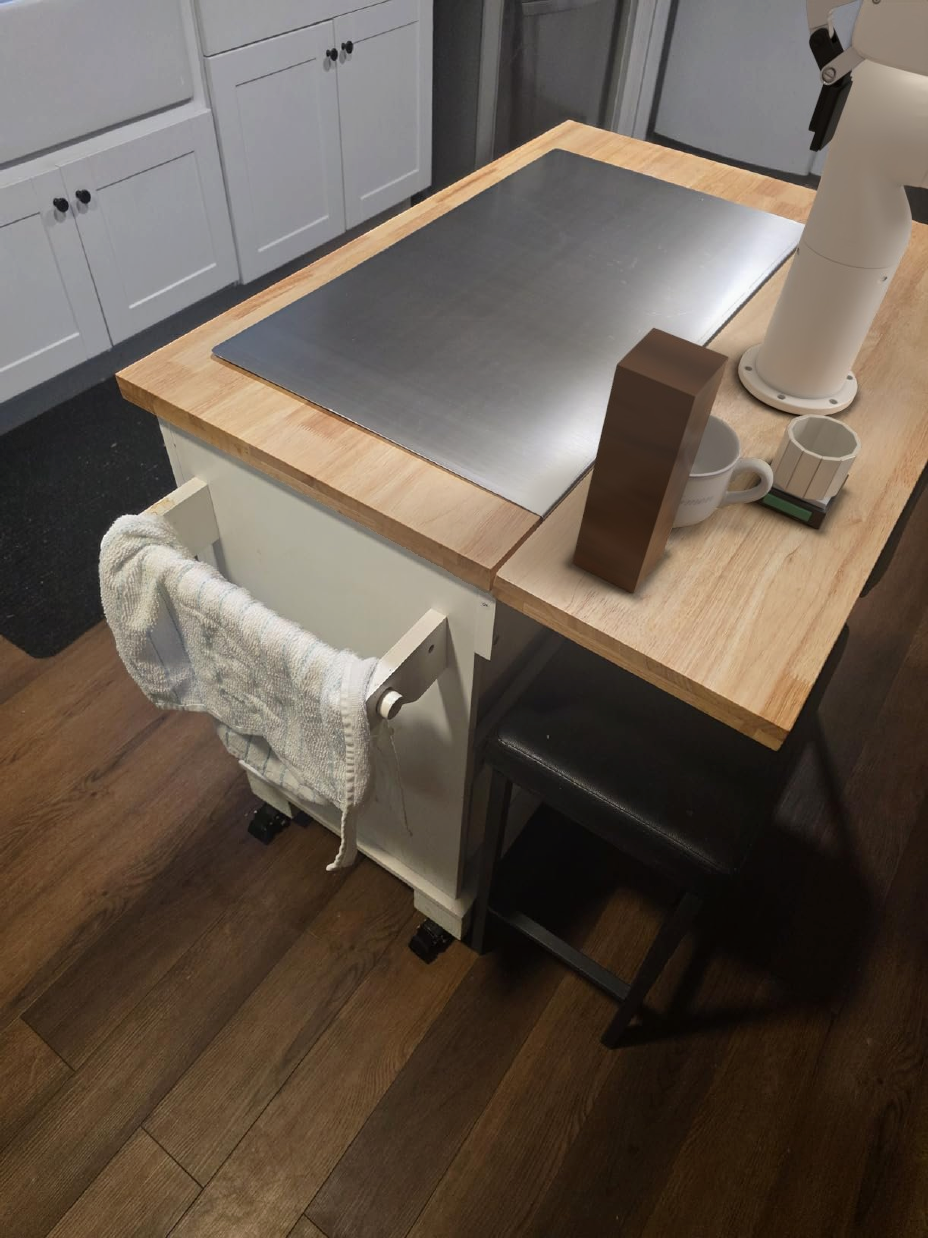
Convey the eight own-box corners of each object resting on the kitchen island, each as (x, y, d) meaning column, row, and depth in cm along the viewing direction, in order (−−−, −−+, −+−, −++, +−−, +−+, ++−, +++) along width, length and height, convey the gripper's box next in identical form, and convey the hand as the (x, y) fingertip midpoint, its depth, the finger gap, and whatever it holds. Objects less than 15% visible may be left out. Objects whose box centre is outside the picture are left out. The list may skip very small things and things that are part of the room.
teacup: (581, 510, 80) (597, 441, 74) (634, 450, 86) (652, 382, 80) (721, 578, 76) (750, 510, 70) (766, 510, 82) (797, 442, 76)
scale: (774, 462, 86) (783, 441, 84) (841, 490, 84) (852, 469, 82) (748, 500, 82) (757, 479, 80) (817, 531, 80) (828, 510, 78)
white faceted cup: (784, 445, 84) (801, 405, 81) (849, 472, 82) (870, 432, 79) (760, 480, 80) (777, 440, 77) (827, 509, 78) (848, 470, 75)
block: (603, 524, 79) (653, 326, 64) (663, 553, 77) (729, 356, 62) (571, 563, 76) (616, 363, 60) (633, 594, 74) (695, 396, 59)
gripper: (1209, -148, 46) (1029, 184, 59) (886, -200, 51) (786, 114, 65) (1198, -129, 42) (1006, 224, 55) (847, -188, 47) (749, 146, 60)
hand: (887, 165), depth 60 cm, fingers open, 9 cm apart
